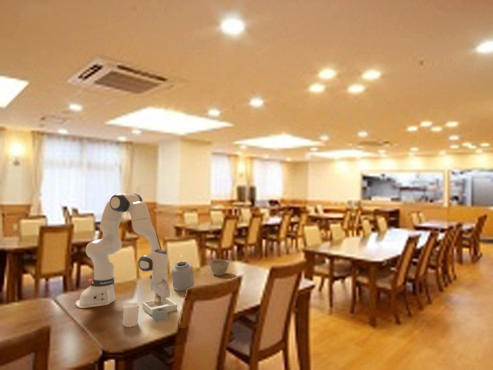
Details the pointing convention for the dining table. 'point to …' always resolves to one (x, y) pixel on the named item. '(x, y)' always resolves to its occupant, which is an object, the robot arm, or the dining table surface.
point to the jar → (182, 276)
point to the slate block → (159, 314)
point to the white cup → (130, 314)
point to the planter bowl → (219, 266)
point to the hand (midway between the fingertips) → (159, 301)
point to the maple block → (158, 301)
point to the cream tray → (151, 305)
